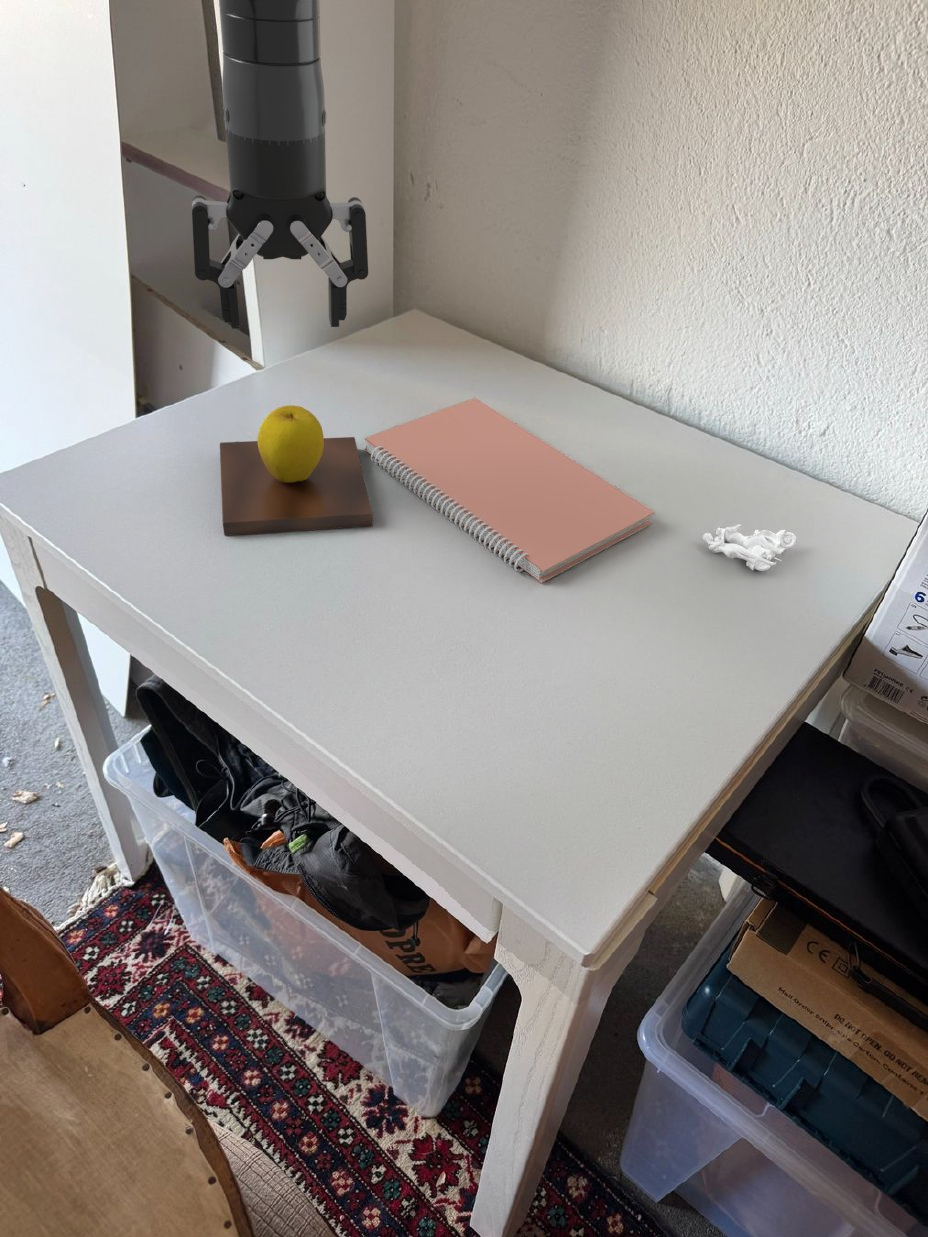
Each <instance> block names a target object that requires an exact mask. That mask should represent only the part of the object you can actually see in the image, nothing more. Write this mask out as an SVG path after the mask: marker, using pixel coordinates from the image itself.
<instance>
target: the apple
mask: <svg viewBox="0 0 928 1237" xmlns="http://www.w3.org/2000/svg"><path fill="white" fill-rule="evenodd" d="M324 438H325V436H324V432H323V428H322V425H321V423H320V421H319V420H318V419H317V417H316V416H315V415H314V414H313V413H312V412H311V411H309V410H308V409H306V408H304V407H303V406H300V405H290V404H289V405H282V406H279V407H277V408H275V409H274V410H273V411H270V413H268V415H266V417H265V419H264V420H263V421H262V423H261V424H260V427H259V431H258V433H257V440H256V441H258V448H259V452H260V455H261V458H262V460H263V462H264V464H265V466H266V468H267V469H268V471H269V472H270V474H271V475H272V476H273V477H275V478H276V479H278V480H279V481H281V482H285V483H286V482H287V483H289V482H296V481H303V480H306V479H307V478H308V477H309V476H310V475H311V473H312V472H313V470H314V469H315V468H316V466H317V464H318V462H319V461H320V459H321V457H322V453H323V448H324Z"/></svg>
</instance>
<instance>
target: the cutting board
mask: <svg viewBox="0 0 928 1237" xmlns="http://www.w3.org/2000/svg"><path fill="white" fill-rule="evenodd" d="M219 461H220V463H219V464H220V486H221V488H220V489H221V513H222V526H223V527H222V529H223V535H224V536H239V535H253V534H271V533H285V532H301V531H318V530H334V529H351V528H364V527H365V528H366V527H373V517H374V515H373V510H372V506H371V501H370V497H369V493H368V489H367V484H366V480H365V475H364V471H363V467H362V464H361V463H362V462H361V459H360V454H359V450H358V446H357V442H356V437H355V436H348V437H347V436H346V437H345V436H344V437H324V448H323V453H322V457H321V459H320V461H319V462H318V464H317V466H316V468H315V469H314V470H313V472H312V473H311V475H310V476H309V477H308V478H307V479H306V480H303V481H296V482H289V483H287V482H286V483H285V482H281V481H279V480H278V479H276V478H275V477H273V476H272V475H271V474H270V472H269V471H268V469H267V468H266V466H265V464H264V462H263V460H262V458H261V455H260V452H259V448H258V441H257V440H250V441H248V440H247V441H227V442H226V441H225V442H223V441H221V442H219Z"/></svg>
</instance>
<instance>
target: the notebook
mask: <svg viewBox="0 0 928 1237" xmlns="http://www.w3.org/2000/svg"><path fill="white" fill-rule="evenodd" d="M364 440H365V441H366V447H364V451H365V452H367V453H368V454H369V455H370V460H371V462H372V463H373V464H375V466H376V467H379V468H380V469H381V470H382V471H384V472H385V473H387V474H388V475H389V476H390V477H392V478H393V479H394V480H396V481H397V482H398V483H399V484H401V485H402V486H404V487H405V488H406V489H407V490H409V491H410V492H411V493H413V494H414V495H415V496H416V497H418V498H419V499H420V500H422V501H423V502H424V503H427V504H428V506H430V507H432V509H434V510H436V511H437V512H438V513H439V514H441V515H442V516H443V517H445V518H446V519H447V520H449V521H450V522H451V523H452V524H454V525H455V526H456V527H458V528H460V530H461V531H463V532H465V534H467V535H469V536H470V537H471V538H473V539H474V541H476V542H478V543H479V544H480V545H481V546H484V548H485V549H487V550H489V552H490V553H493V554H494V556H496V557H498V558H499V559H500V561H501V560H502V561H504V563H505V564H507V565H509V568H511V569H514V571H515V572H517V573H521V572H523V571H525V572H526V573H528V574H529V575H530V576H531V577H533V578H534V579H535V580H537V581H538V582H540V584H543V583H545V582H546V581H549V580H550V579H552V578H554V577H556V576H558V575H560V574H561V573H563V572H565V571H567V570H569V569H571V568H573V567H575V566H576V565H578V564H580V563H582V562H584V561H586V560H588V559H589V558H591V557H593V556H595V555H597V554H598V553H600V552H602V551H604V550H607V549H608V548H610V547H612V546H614V545H616V544H617V543H620V542H622V541H624V540H625V539H627V538H629V537H630V536H632V535H634V534H636V533H638V532H640V531H641V530H643V529H646V528H648V527H649V526H651V525H653V522H652V521H651V520H649V518H650V517H652V516H653V515H655V514H656V511H655V510H653V509H651V508H649V507H648V506H646V505H645V504H643V503H641V502H640V501H639V500H637V499H635V498H634V497H632V496H630V494H628V493H626V492H624V491H623V490H621V489H619V488H618V487H616V486H615V485H614V484H612V483H610V482H609V481H607V480H606V479H604V478H603V477H601V476H600V475H598V474H596V473H595V472H593V471H591V470H590V469H588V468H587V467H585V466H583V465H582V464H580V463H579V462H578V461H576V460H574V459H573V458H571V457H570V456H568V455H566V454H565V453H563V452H562V451H560V450H558V449H557V448H555V446H552V445H550V444H549V443H548V442H546V441H544V440H543V439H541V438H540V437H538V436H536V434H533V433H532V432H530V431H529V430H527V429H526V428H524V427H522V426H521V425H519V424H517V423H516V422H515V421H513V420H511V419H510V418H508V417H507V416H505V415H504V414H502V413H500V412H499V411H497V410H495V409H494V408H493V407H491V406H490V405H488V404H487V403H485V402H483V401H481V400H480V399H479V398H477V397H472V398H469V399H466V400H463V401H461V402H458V403H455V404H452V405H450V406H447V407H445V408H442V409H439V410H436V411H434V412H431V413H428V414H425V415H423V416H420V417H417V418H414V419H412V420H409V421H406V422H403V423H400V424H398V425H396V426H393V427H390V428H387V429H384V430H382V431H379V432H376V433H374V434H371V435H368V436H366V437H364ZM453 520H454V521H453ZM472 534H473V535H472ZM482 541H483V542H482ZM487 545H488V546H487ZM492 549H493V550H492ZM497 552H498V553H497ZM502 556H503V557H502ZM507 560H509V561H507ZM513 563H514V565H513ZM518 567H519V568H520V569H518Z"/></svg>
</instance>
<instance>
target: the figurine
mask: <svg viewBox="0 0 928 1237" xmlns="http://www.w3.org/2000/svg"><path fill="white" fill-rule="evenodd" d="M741 527H742V524H740V523H738V524H736V525H734V526H727V527H723V526H722V525H719V526H718V527H716V529H715V535H716V536H715V537H714V536H713V535H712V533H710V532H706V533H704V534H703V535H702V539H703V540H704V542H705V543H707V545H708V548H707V549H709V550H710V551H711V552H712V553H713V554H717V553H723V554H724V555H725V556H726V558H729V559H735V558H738V559H741V560H744V561H746V563H745V564H746V567H748V568H749V569H750V570H751V571H752V572H753V571H754V570H756V571H758V572H759V571H760V572H765V571H768V570H769V569H770V568H771V567H772V566H775V565H777V561H778V562H782V559H779V558H777V557H775V556H776V555H781V554H783V553H784V551H785V550H789V549H792V548H793V547H794V546H795V545H796V543H797V537H796V535H795V534H794V533H793V532H791V531H787V530H786V529H781V530H779V531H778V532H777V533H775V532H773V531H770V530H767V529H766V530H765V529H763V530H759V529H755V530H754V533H753V534H752V535H743V534H742V533H740V532H738V530H739V529H740V528H741ZM772 559H774V560H775V562H773V561H771V560H772ZM776 560H777V561H776Z"/></svg>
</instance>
